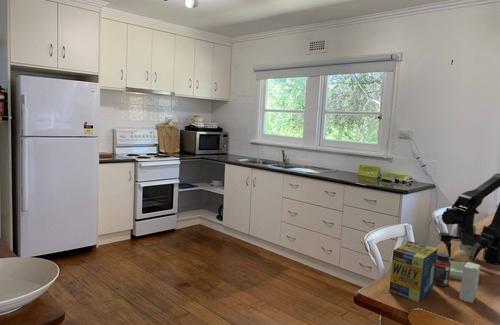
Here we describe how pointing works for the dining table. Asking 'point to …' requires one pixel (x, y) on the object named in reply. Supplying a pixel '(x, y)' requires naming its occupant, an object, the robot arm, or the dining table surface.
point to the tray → (457, 269)
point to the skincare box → (469, 282)
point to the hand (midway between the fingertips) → (461, 258)
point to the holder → (453, 259)
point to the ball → (461, 256)
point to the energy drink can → (467, 248)
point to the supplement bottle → (442, 270)
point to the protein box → (413, 270)
